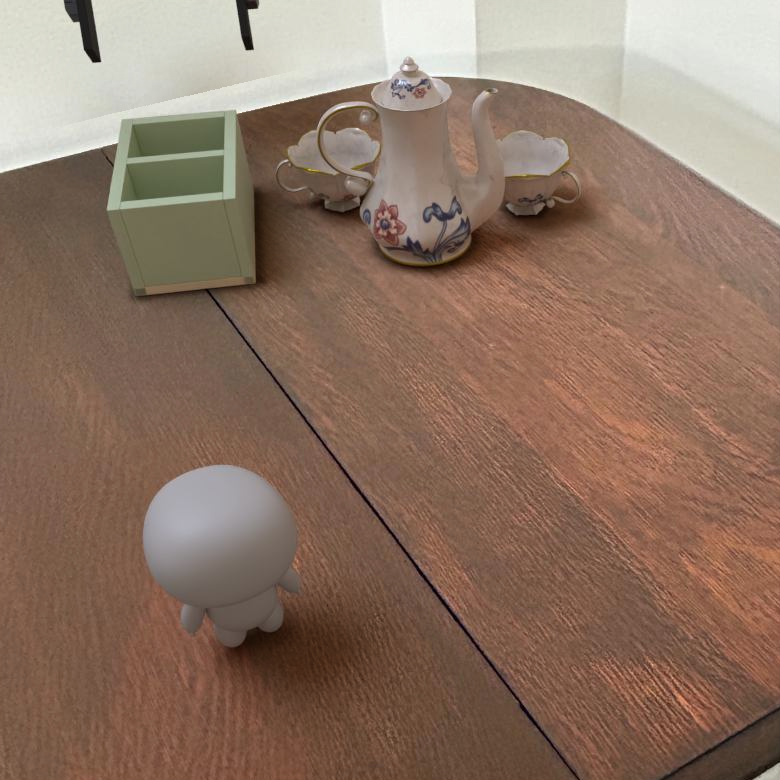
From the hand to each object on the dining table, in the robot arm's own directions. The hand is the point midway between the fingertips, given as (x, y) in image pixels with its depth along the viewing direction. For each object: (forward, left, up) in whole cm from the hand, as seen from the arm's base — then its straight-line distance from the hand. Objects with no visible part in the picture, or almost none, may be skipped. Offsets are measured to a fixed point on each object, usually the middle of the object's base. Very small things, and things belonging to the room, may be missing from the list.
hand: (171, 50), depth 92 cm
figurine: (+24, -54, -12) cm, 60 cm away
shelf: (+4, -12, -12) cm, 17 cm away
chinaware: (+24, -6, -12) cm, 28 cm away
